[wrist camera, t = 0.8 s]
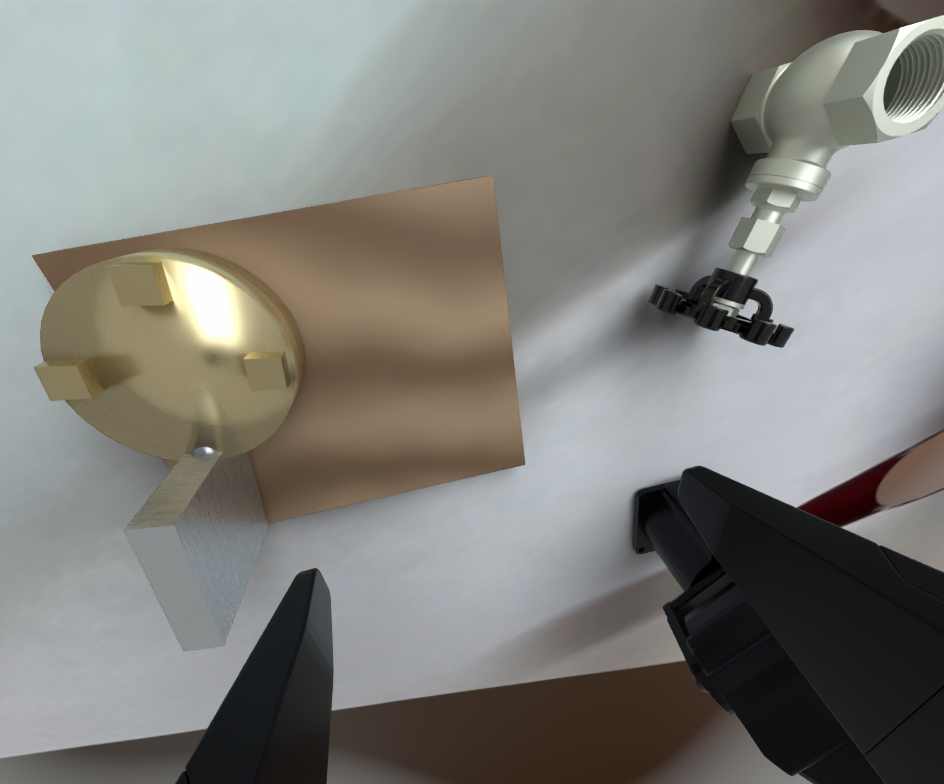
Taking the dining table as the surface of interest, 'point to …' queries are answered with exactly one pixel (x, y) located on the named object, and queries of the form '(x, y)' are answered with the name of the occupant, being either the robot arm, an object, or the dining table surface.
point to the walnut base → (373, 340)
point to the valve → (811, 150)
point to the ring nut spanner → (181, 410)
